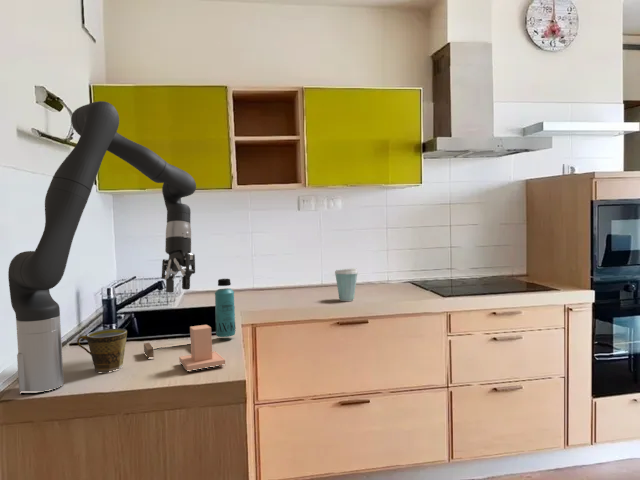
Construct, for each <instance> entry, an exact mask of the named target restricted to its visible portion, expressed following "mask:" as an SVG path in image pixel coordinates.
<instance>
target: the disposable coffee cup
mask: <svg viewBox="0 0 640 480" xmlns="http://www.w3.org/2000/svg"><path fill="white" fill-rule="evenodd" d="M358 273H359V271H358V269H357V268H356V267H353V268H352V267H350V268H342V269H341V268H340V269H336V270H335V271H334V275H335V278H336V279H335V280H336V286H337V293H338V299H339V301H340V302H354V299H355V294H356V288H357V286H356V285H357V280H358V279H357V278H358Z"/></svg>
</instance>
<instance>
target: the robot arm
mask: <svg viewBox="0 0 640 480" xmlns="http://www.w3.org/2000/svg"><path fill="white" fill-rule="evenodd" d="M70 119H71V121H70V123H71V125H72V127H73V130H74V131H75V132H76V133H77V135H79V138H78V141H77V142H76V144H75V146H74V148H73V149H72V150H71V152H70V153H69V154H68V155H67V156H66V157H65V159H64V160H63V161H62V162H61V164H60V165H59V166H58V168H57V170H56V171H55V173H54V175H53V176H52V178H51V181H50V183H49V186H48V189H47V190H46V194H45V199H44V215H45V217H44V219H45V223H44V230H43V232H42V234H41V238H40V240H39V242H38V244H37V246H36V247H35V250H25V251H23V252H20V253H17V254H16V255H14V257H13V258H12V259H11V260H10V262H9V266H8V272H7V273H8V274H7V275H8V286H9V296H10V297H9V298H10V303H11V308H12V310H13V311H14V313H15V324H16V325H15V326H16V338H17V339H16V340H17V354H16V358H17V359H16V360H17V374H18V376H17V377H18V393H19V392H21V391H45V390H49V389H54V388H57V387H59V386H61V385H63V383H64V384H65V380H64V378H65V376H64V375H65V374H64V362H63V360H64V359H63V345H62V330H61V329H62V328H61V312H60V311H61V308H60V305H59V304H58V302H57V301H55V299H53V297H52V296H51V295H52V294H51V293H50V290H52V289H54V288H55V287H56V286H57V285H58V284H59V283H60V282H61V280H62V279H63V276H64V274H65V271H66V269H67V268H66V267H67V263H68V259H69V255H70V251H71V247H72V244H73V240H74V237H75V234H76V231H77V229H78V227H79V223H80V221H81V218H82V217H83V216H82V215H83V213H84V210H85V208H86V205H87V204H88V201H89V197H90V195H91V194H92V190H93V186H94V183H95V181H96V178H97V176H98V173H99V171H100V169H101V165H102V161H103V160H104V156H105V155H106V153H107V152H109V153H111V154H113V155H114V156H117V157H118V158H120V159H121V160H123V161H124V162H125V163H127V164H129V165H131V166H132V167H133V168H135V169H136V170H138V171H139V172H140V173H141V174H143V175H144V176H146V177H147V178H148V179H149V180H150V181H152V182H155V183H157V184H162V189H161V192H162V197H163V200H164V201H163V202H164V206H165V208H166V228H165V246H164V247H165V251H164V252H165V253H166V254H168V259H162V260H161V261H162V264H161V279H163V280H164V281H165V292H166V293H174V291H175V290H174V289H175V284H174V283H175V280H174V279H175V277H176V275H178V274H179V272H180V274H181V275H182V277H181V289H182V290H185V291H187V290H190V288H191V277H192V275H193V274H194V275H195V273H196V257H195V256H196V255H195V253H192V227H191V208H190V206H189V205H188V204H185V203H183V202H182V198H185V197H189V196H191V195H193V194H195V192H196V190H197V183H196V181H195V178H194V177H193V176H192V175H191V174H190V173H188V172H187V171H185V170H183V169H181V168H179V167H177V166H175V165H173V164H170V163H168V162H167V161H166V160H165V159H163V158H162V157H161V156H160V155H158V154H157V153H156V152H154V151H153V150H151V149H150V148H148V147H146V146H144V145H142V144H140V143H137V142H135V141H133V140H132V139H128V138H127V137H125V136H123V135H122V134H120V133H119V132H117V131H118V129H119V125H120V115H119V112H118V111H117V109H116V107H115V106H114V105H113V104H111V103H110V102H107V101H103V100H102V101H101V100H98V101H93V102H91V103H88V104H85V105H82V106H79V107H78V108H76V109H75V110H74V111H73V112H72V114H71V118H70ZM63 386H64V385H63Z"/></svg>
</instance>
